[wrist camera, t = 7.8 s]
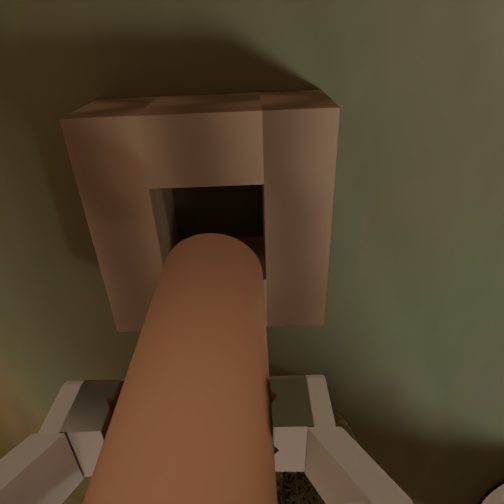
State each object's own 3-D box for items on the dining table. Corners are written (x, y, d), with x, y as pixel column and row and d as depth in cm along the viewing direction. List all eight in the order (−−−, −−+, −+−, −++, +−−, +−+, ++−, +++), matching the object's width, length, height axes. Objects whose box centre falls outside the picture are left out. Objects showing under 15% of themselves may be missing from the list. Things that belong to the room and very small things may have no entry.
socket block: (321, 89, 21) (340, 107, 17) (312, 276, 27) (324, 325, 23) (97, 99, 21) (58, 119, 17) (138, 283, 27) (117, 332, 23)
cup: (255, 425, 35) (257, 524, 28) (272, 367, 32) (278, 464, 25) (336, 434, 36) (357, 532, 29) (361, 378, 32) (392, 475, 25)
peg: (262, 231, 15) (299, 722, 4) (263, 315, 17) (289, 784, 6) (155, 234, 15) (-55, 732, 4) (169, 317, 17) (47, 791, 6)
